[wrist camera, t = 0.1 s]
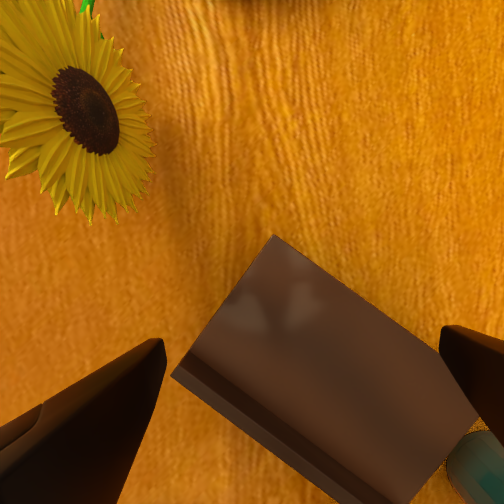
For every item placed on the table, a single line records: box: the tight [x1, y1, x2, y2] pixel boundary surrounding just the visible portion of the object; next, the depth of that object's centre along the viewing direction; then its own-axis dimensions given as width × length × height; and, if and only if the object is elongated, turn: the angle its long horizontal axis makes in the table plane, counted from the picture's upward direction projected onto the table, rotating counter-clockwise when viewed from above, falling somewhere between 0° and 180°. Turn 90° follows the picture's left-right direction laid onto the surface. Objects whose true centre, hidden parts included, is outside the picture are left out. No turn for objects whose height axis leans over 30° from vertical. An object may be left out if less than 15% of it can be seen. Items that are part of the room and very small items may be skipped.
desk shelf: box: [170, 234, 480, 504], centre depth 21 cm, size 12×20×6 cm, turn 54°
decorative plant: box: [0, 0, 157, 226], centre depth 20 cm, size 15×6×30 cm
